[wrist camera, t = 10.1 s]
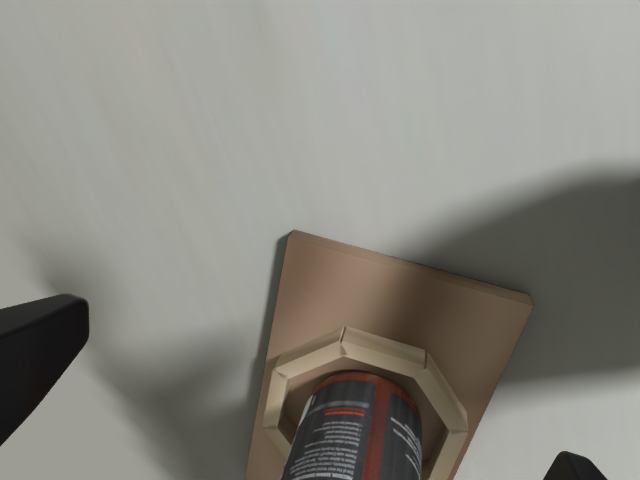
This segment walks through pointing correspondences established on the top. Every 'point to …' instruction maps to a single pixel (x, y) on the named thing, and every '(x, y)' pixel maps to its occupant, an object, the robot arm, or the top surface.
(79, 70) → the top surface
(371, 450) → the supplement bottle
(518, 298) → the wooden board with rim
